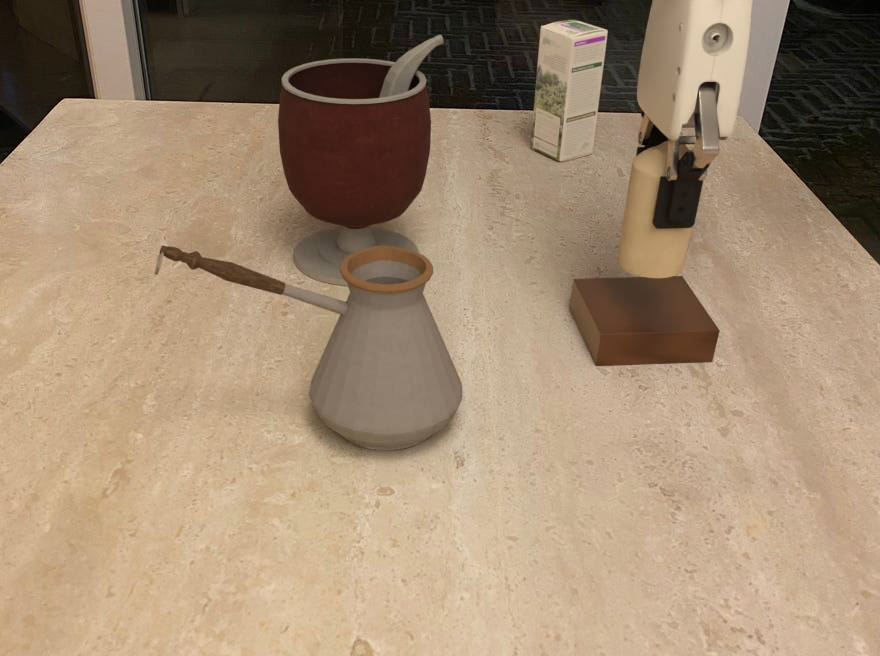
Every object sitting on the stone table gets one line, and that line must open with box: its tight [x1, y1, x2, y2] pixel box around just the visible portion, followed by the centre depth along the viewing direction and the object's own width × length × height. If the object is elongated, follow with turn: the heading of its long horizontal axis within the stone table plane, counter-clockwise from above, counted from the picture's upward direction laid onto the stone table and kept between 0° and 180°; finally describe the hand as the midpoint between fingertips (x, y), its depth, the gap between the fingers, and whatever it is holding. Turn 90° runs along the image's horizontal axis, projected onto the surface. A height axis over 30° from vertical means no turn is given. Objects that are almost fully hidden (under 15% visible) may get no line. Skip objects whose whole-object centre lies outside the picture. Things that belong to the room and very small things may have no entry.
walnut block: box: [568, 275, 720, 367], centre depth 87 cm, size 10×10×3 cm
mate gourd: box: [277, 34, 444, 287], centre depth 93 cm, size 16×14×20 cm
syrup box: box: [530, 19, 609, 162], centre depth 119 cm, size 6×6×14 cm
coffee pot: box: [154, 245, 464, 451], centre depth 71 cm, size 21×12×15 cm, turn 97°
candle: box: [617, 141, 693, 278], centre depth 80 cm, size 6×6×10 cm
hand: (661, 208), depth 80 cm, fingers closed on candle, 5 cm apart
